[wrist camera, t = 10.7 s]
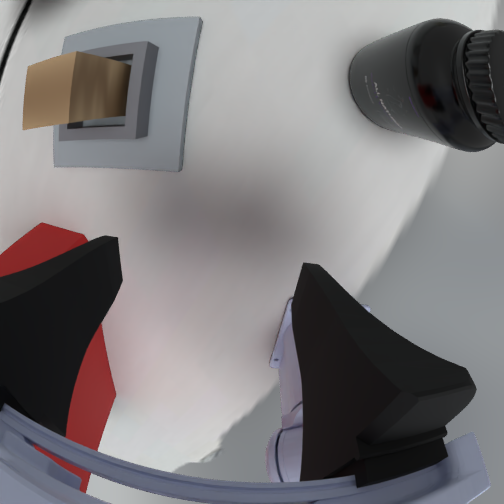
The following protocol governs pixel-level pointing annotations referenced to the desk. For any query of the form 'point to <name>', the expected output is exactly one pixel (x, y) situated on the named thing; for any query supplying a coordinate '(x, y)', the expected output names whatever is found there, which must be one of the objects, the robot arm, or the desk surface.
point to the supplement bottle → (435, 84)
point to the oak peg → (74, 90)
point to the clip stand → (136, 97)
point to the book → (95, 360)
